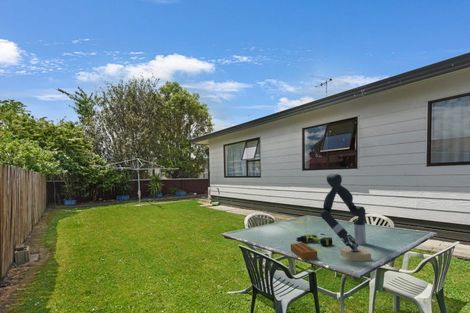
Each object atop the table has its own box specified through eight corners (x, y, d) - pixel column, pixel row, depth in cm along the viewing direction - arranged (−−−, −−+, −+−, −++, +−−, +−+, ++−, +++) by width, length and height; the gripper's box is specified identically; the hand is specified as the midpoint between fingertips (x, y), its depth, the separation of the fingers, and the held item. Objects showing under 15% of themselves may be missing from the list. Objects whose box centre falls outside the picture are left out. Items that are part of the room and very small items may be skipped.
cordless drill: (312, 249, 234) (293, 243, 256) (333, 245, 245) (313, 239, 268) (312, 240, 234) (293, 235, 256) (333, 237, 246) (313, 232, 268)
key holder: (340, 254, 218) (340, 248, 218) (360, 253, 219) (360, 247, 219) (350, 261, 202) (349, 254, 202) (371, 260, 203) (371, 253, 203)
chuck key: (352, 256, 212) (351, 243, 212) (356, 256, 212) (355, 243, 213) (354, 258, 208) (353, 244, 209) (358, 257, 209) (358, 244, 209)
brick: (290, 251, 233) (290, 244, 233) (304, 249, 235) (303, 242, 235) (302, 260, 208) (302, 252, 208) (317, 259, 210) (317, 251, 211)
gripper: (339, 229, 212) (355, 247, 203) (346, 226, 222) (362, 242, 214) (333, 235, 215) (349, 253, 207) (340, 232, 225) (355, 248, 217)
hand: (355, 247), depth 210 cm, fingers open, 8 cm apart
